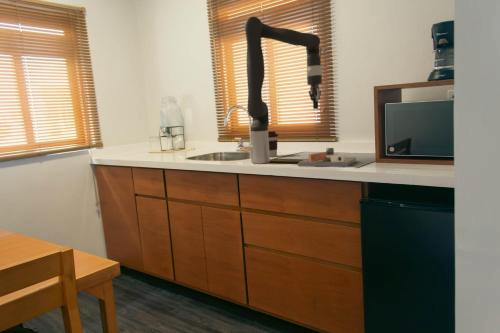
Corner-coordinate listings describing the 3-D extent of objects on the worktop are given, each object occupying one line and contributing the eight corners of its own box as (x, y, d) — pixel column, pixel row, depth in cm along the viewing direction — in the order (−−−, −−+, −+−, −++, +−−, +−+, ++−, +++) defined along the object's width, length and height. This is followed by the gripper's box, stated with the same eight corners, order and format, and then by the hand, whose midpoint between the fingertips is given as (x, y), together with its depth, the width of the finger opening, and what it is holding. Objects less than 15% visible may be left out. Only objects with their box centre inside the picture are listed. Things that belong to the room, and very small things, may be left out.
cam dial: (315, 162, 185) (315, 151, 184) (304, 161, 192) (304, 150, 191) (342, 157, 194) (341, 147, 193) (330, 156, 201) (330, 147, 200)
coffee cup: (282, 155, 239) (281, 130, 237) (272, 157, 232) (270, 132, 230) (269, 155, 246) (268, 131, 244) (259, 157, 239) (257, 132, 237)
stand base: (298, 166, 193) (297, 156, 192) (310, 161, 208) (310, 151, 207) (346, 166, 181) (346, 156, 181) (356, 161, 196) (356, 151, 195)
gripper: (311, 76, 213) (313, 108, 216) (302, 75, 202) (304, 109, 204) (325, 74, 210) (326, 107, 212) (316, 73, 198) (318, 108, 201)
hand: (315, 108), depth 208 cm, fingers closed
